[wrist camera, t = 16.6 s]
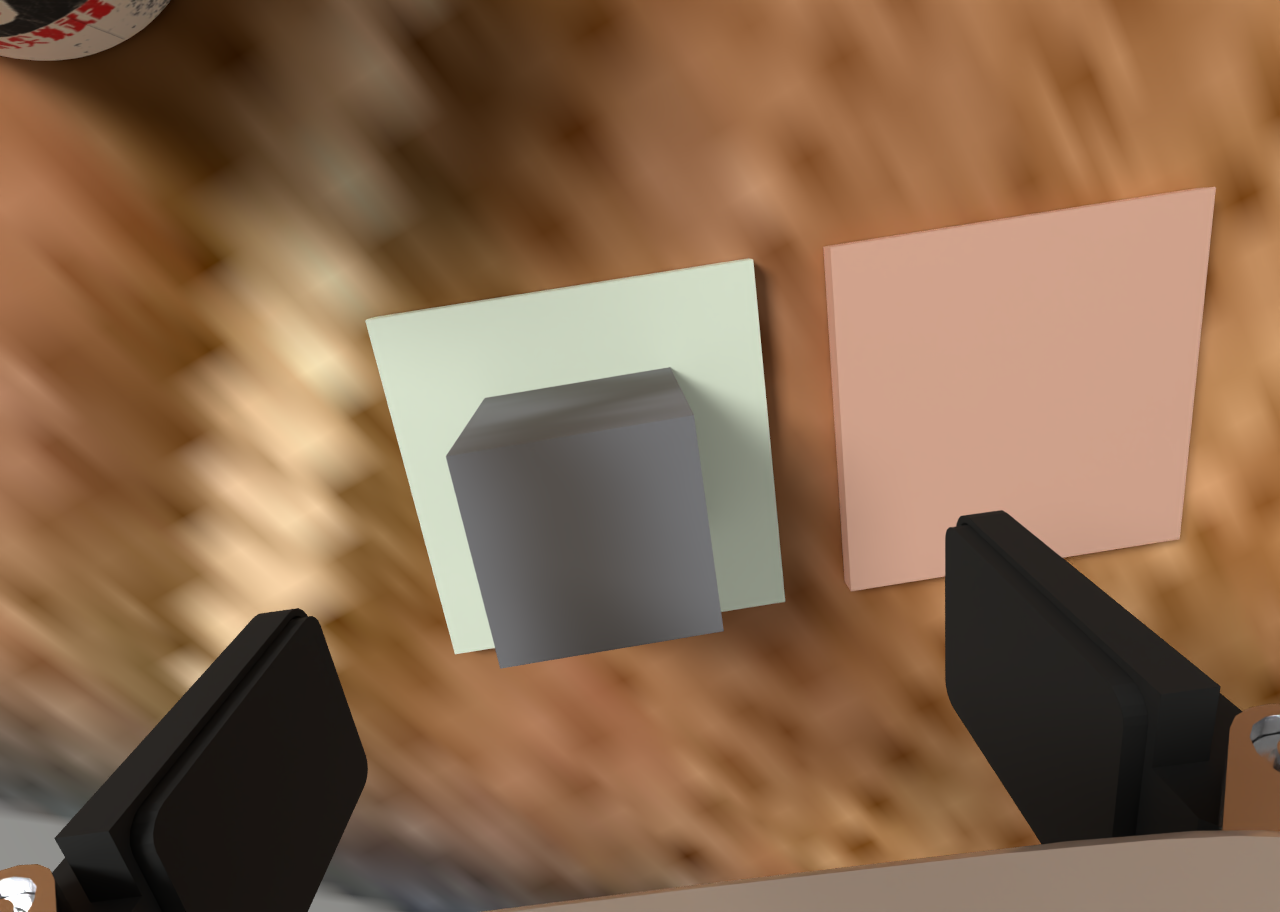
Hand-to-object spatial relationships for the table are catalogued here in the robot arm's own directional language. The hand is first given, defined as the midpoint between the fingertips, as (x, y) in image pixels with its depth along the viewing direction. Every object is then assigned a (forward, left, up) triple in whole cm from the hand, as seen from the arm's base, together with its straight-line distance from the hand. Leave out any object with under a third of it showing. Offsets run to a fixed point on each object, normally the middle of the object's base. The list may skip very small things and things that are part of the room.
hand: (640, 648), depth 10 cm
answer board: (-5, 0, -10) cm, 11 cm away
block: (+1, 0, -10) cm, 10 cm away
